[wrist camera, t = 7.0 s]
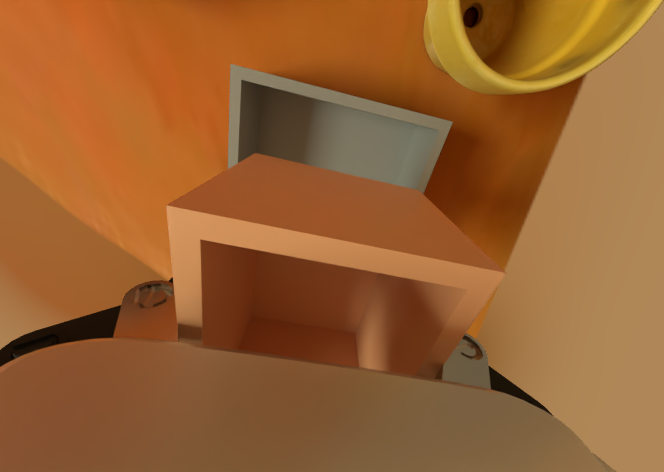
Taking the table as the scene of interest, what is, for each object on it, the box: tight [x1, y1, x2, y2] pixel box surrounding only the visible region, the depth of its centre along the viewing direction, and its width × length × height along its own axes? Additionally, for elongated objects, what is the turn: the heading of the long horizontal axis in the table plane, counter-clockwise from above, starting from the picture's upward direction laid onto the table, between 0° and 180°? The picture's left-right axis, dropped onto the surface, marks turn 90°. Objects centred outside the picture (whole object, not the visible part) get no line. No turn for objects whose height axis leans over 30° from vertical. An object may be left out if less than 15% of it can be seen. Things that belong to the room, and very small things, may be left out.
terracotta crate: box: [166, 153, 506, 379], centre depth 10 cm, size 9×7×6 cm
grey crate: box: [228, 64, 453, 194], centre depth 22 cm, size 15×15×6 cm
